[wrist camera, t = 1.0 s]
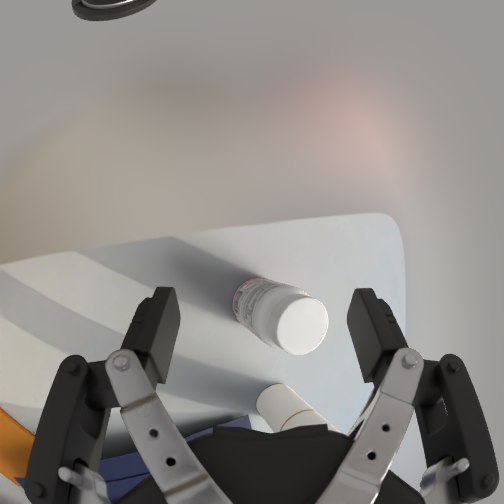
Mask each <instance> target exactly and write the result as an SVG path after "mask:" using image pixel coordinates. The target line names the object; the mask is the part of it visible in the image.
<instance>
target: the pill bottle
mask: <svg viewBox="0 0 504 504" xmlns="http://www.w3.org/2000/svg"><path fill="white" fill-rule="evenodd" d="M233 311H234V314H235V316H236V318H237V320H238V321H239V322H240V323H241V324H242V325H243V326H245V327H246V328H247V329H249V330H250V331H251V332H252V333H253V334H255V335H256V336H257V337H258V338H259V339H261V340H262V341H263V342H264V343H266V344H267V345H269V346H271V347H273V348H277V349H282V350H284V351H285V352H287V353H290V354H293V355H302V354H306V353H308V352H310V351H312V350H314V349H315V348H316V347H317V346H318V345H319V344H320V343H321V342H322V340H323V338H324V336H325V334H326V331H327V328H328V314H327V311H326V309H325V307H324V306H323V304H322V303H321V302H320V301H318V300H317V299H315V298H312V297H310V296H309V295H308V294H307V293H306V292H304V291H303V290H301V289H299V288H297V287H293V286H290V285H286V284H283V283H279V282H275V281H272V280H268V279H265V278H254V279H251V280H248V281H246V282H245V283H243V284H242V285H241V286H240V287H239V288H238V290H237V291H236V293H235V295H234V298H233Z"/></svg>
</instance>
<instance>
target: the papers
mask: <svg viewBox="0 0 504 504" xmlns="http://www.w3.org/2000/svg"><path fill="white" fill-rule="evenodd" d="M217 426H226V427H243V428H247V429H251V425H250V421H249V416H248V415H245V416H243V417H240V418H237V419H235V420H232V421H230V422H227V423H224V424H221V425H217ZM251 430H252V429H251ZM210 432H213V427H212V428H209V429H206V430H204V431H201V432H198V433H196V434H193V435H190V436H187V437H185V438H184V439H185V441H186V442H187V441H189V440H190V439H192V438H194V437H196V436H199V435H202V434H205V433H210ZM98 474H100V475H101V476H102V477H103V479H104V480H105V482H106V485H107V494H108V497H109V499H110V501H111V502H112V503H113V502H114V501H115V500H117V499H118V498H119V497H121V496H122V495H123V494H125V493H126V492H127V491H128V490H130V489H131V488H132V487H134V486H135V485H136V484H137V483H139V482H140V481H141V480H142V479H144V478H145V477H146V476H147V475H149V474H150V471H149V469H148V468H147V466H146V464H145V462H144V460H143V459H142V457H141V455H140V453H139V451H138V452H134V453H130V454H126V455H121V456H117V457H112V458H107V459H101V461H100V467H99V473H98ZM14 479H15V480H16V481H17V482H18V483H19V484H20V485H21V486H22V487H23V488H24V481H25V477H14Z"/></svg>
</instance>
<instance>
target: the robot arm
mask: <svg viewBox="0 0 504 504" xmlns="http://www.w3.org/2000/svg"><path fill="white" fill-rule="evenodd" d="M81 1H82V3H83V5H85V6H86V7H88V8H92V9H111V8H117V7H121V6H125V5H128V4H130V3H133V2H135V1H137V0H81ZM347 325H348V328H349V332H350V335H351V338H352V341H353V345H354V348H355V351H356V355H357V358H358V362H359V365H360V369H361V372H362V376H363V379H364V383H369V382H373V384H374V388H373V390H372V392H371V394H370V396H369V398H368V400H367V402H366V404H365V406H364V407H363V409H362V411H361V413H360V415H359V417H358V419H357V420H356V422H355V424H354V425H353V426H352V428H351V429H350V431H349V432H348V434H347V435H345V434H342V433H340V432H337V431H332V430H328V425H327V423H326V424H317V425H305V426H298V427H295V428H291V429H288V430H284V431H280V432H276V433H265V432H260V431H256V430H251V429H247V428H243V427H226V426H213V432H210V433H205V434H202V435H199V436H196V437H194V438H192V439H190V440H189V441H187V442H186V441H185V439H184V438H183V436H182V435H181V433H180V432H179V430H178V429H177V427H176V426H175V424H174V422H173V421H172V419H171V417H170V416H169V414H168V412H167V411H166V409H165V407H164V406H163V404H162V402H161V401H160V399H159V397H158V395H157V393H156V392H155V389H156V385H157V383H161V384H165V382H166V378H167V374H168V370H169V366H170V361H171V357H172V353H173V349H174V345H175V342H176V338H177V334H178V330H179V326H180V310H179V305H178V301H177V296H176V292H175V289H174V287H157V288H156V290H155V292H154V294H153V297H152V298H147V297H146V298H145V299H144V300H143V301H142V302H141V303H140V304H139V305H138V308H137V310H136V312H135V315H134V317H133V319H132V323H131V324H130V326H129V329H128V331H127V333H126V336H125V338H124V341H123V343H122V346H121V348H120V350H117V351H114V352H113V353H111V354H110V355H109V356H108V358H107V359H106V360H104V361H97V362H89V363H87V361H86V360H85V359H84V358H83V357H82V356H80V355H71V356H69V357H67V358H65V359H64V360H63V361H62V363H61V364H60V366H59V369H58V371H57V374H56V376H55V379H54V381H53V384H52V387H51V389H50V392H49V395H48V397H47V400H46V403H45V406H44V409H43V412H42V415H41V418H40V421H39V424H38V428H37V431H36V435H35V438H34V442H33V445H32V449H31V453H30V457H29V462H28V466H27V471H26V476H25V481H24V491H25V494H26V496H27V498H28V499H29V501H30V502H31V503H32V504H471V503H474V502H476V501H479V500H481V499H484V498H486V497H488V496H490V495H491V494H492V493H493V492H494V491H495V490H496V488H497V486H498V483H499V472H498V467H497V462H496V457H495V453H494V449H493V445H492V441H491V438H490V434H489V431H488V427H487V424H486V421H485V418H484V414H483V411H482V409H481V406H480V403H479V400H478V397H477V395H476V392H475V389H474V387H473V384H472V382H471V379H470V377H469V374H468V372H467V370H466V367H465V365H464V363H463V361H462V360H461V359H460V358H459V357H458V356H456V355H453V354H446V355H444V356H443V357H442V358H441V360H440V361H430V360H424V359H423V358H422V356H421V355H420V354H419V353H418V352H417V351H415V350H413V349H411V348H409V347H408V345H407V343H406V340H405V338H404V336H403V334H402V331H401V329H400V327H399V325H398V323H397V321H396V319H395V317H394V316H393V312H392V310H391V308H390V306H389V305H388V304H387V303H386V302H385V301H384V300H383V299H377V297H376V295H375V293H374V291H373V289H372V288H357V289H355V291H354V293H353V297H352V300H351V303H350V307H349V310H348V314H347ZM443 401H444V402H443ZM444 404H445V405H444ZM114 407H121V410H120V413H121V416H122V419H123V421H124V423H125V425H126V427H127V429H128V431H129V434H130V436H131V438H132V440H133V442H134V444H135V446H136V447H137V449H138V451H139V453H140V455H141V457H142V459H143V460H144V462H145V464H146V466H147V468H148V469H149V471H150V474H149V475H147V476H146V477H145V478H144V479H142V480H141V481H140V482H139V483H137V484H136V485H135V486H134V487H132V488H131V489H130V490H128V491H127V492H126V493H125V494H123V495H122V496H121V497H119V498H118V499H117V500H115V501H114V502H113V503H112V502H111V501H110V499H109V497H108V494H107V485H106V482H105V480H104V479H103V477H102V476H101V475H100V474H98V473H99V467H100V461H101V455H102V450H103V445H104V440H105V435H106V430H107V425H108V421H109V417H110V412H111V408H114ZM445 407H446V409H445ZM414 409H415V413H416V416H417V421H418V425H419V429H420V433H421V438H422V443H423V448H424V453H425V459H426V464H427V470H426V471H425V472H424V474H423V477H422V481H421V482H420V487H421V490H420V492H418V491H416V490H415V489H414V488H412V487H411V486H410V485H408V484H407V483H406V482H405V481H403V480H402V479H400V478H399V477H398V476H397V475H396V474H394V473H393V472H392V471H391V470H389V468H390V466H391V464H392V462H393V460H394V457H395V455H396V453H397V451H398V449H399V447H400V444H401V442H402V440H403V437H404V435H405V433H406V430H407V428H408V425H409V423H410V420H411V417H412V415H413V412H414ZM446 410H447V412H446ZM447 414H448V415H447Z"/></svg>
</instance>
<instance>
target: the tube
mask: <svg viewBox="0 0 504 504" xmlns="http://www.w3.org/2000/svg"><path fill="white" fill-rule="evenodd" d="M256 407H257V410H258V412H259V413H260V414H261V416H262V417H263V418H264V420H265V421H266V422H267V424H268V425H269V426H270V427H271V429H272V430H273V431H274V433H276V432H280V431H284V430H288V429H291V428H295V427H298V426H305V425H317V424H326V423H327V425H328V430H332V431H337V432H340V431H339V430H338V429H336V428H335V427H334V426H333V425H332V424H330V423H329V422H328V421H327V420H326V419H325V418H323V417H322V416H321V415H320V414H319V413H318V412H316V411H315V410H314V409H313V408H312V407H311V406H310V405H308V404H307V403H306V402H305V401H304V400H303V399H302V398H301V397H300V396H298V395H297V394H296V393H295V392H294V391H293V390H292V389H291V388H290V387H289V386H287V385H284V384H275V385H272V386H270V387H268V388H266V389H265V390H264V391H263V392H262V393H261V394H260V395H259V397H258V399H257V402H256ZM340 433H341V432H340Z"/></svg>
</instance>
